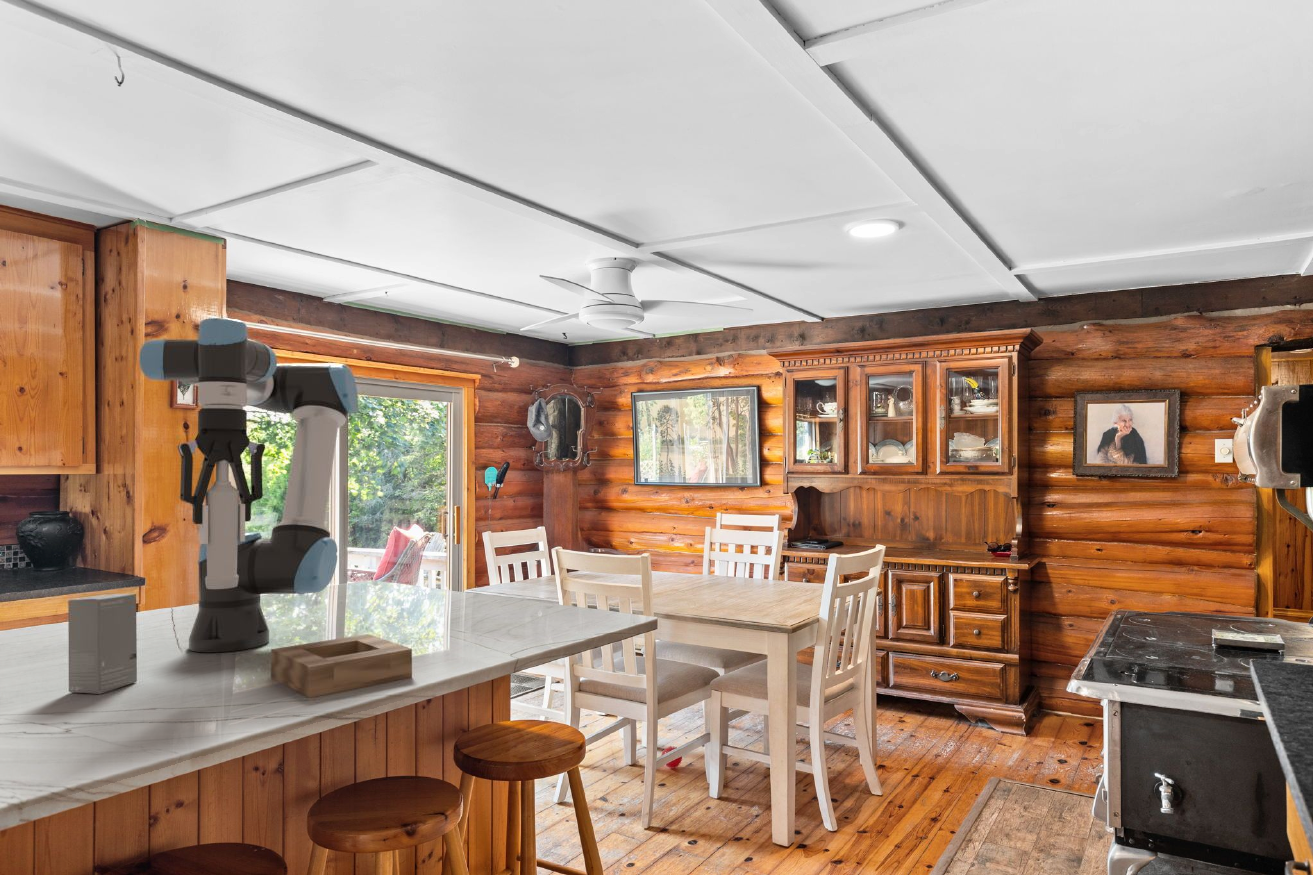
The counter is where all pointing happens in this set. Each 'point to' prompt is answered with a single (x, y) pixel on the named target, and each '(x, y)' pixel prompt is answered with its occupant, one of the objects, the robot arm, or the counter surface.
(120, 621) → the skincare box
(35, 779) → the counter surface
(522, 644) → the counter surface
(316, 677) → the frame
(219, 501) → the bottle
